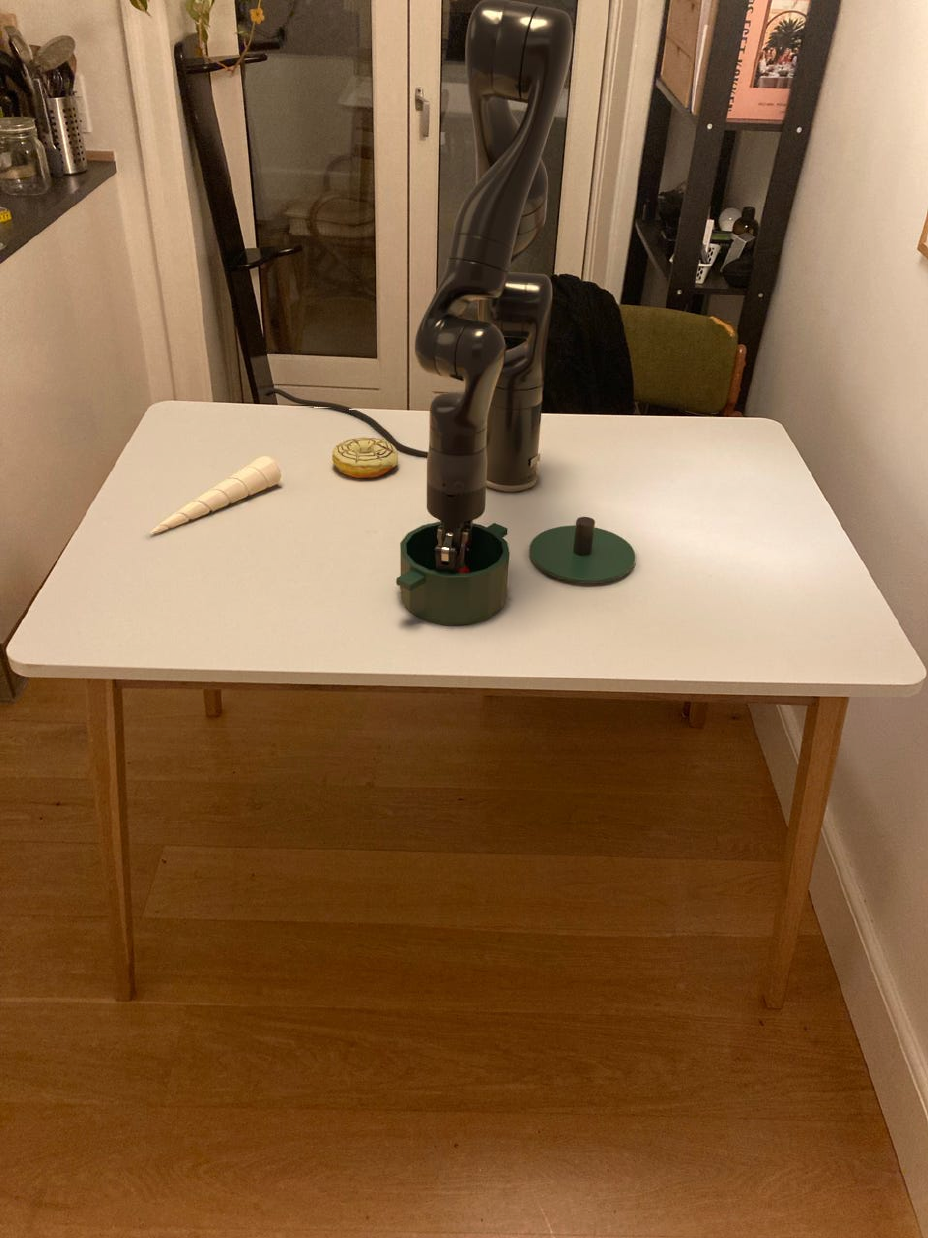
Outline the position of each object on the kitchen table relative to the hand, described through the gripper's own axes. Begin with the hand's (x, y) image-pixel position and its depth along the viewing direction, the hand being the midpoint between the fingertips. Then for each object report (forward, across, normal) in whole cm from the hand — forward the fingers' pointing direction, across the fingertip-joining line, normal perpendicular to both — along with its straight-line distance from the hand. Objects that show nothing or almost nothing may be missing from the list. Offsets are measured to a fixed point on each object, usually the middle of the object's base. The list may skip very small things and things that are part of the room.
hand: (453, 589), depth 133 cm
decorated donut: (+1, -34, -22) cm, 41 cm away
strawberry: (0, 0, 0) cm, 0 cm away
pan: (+1, 0, 0) cm, 1 cm away
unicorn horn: (+1, -16, -40) cm, 43 cm away
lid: (0, -14, +16) cm, 21 cm away
